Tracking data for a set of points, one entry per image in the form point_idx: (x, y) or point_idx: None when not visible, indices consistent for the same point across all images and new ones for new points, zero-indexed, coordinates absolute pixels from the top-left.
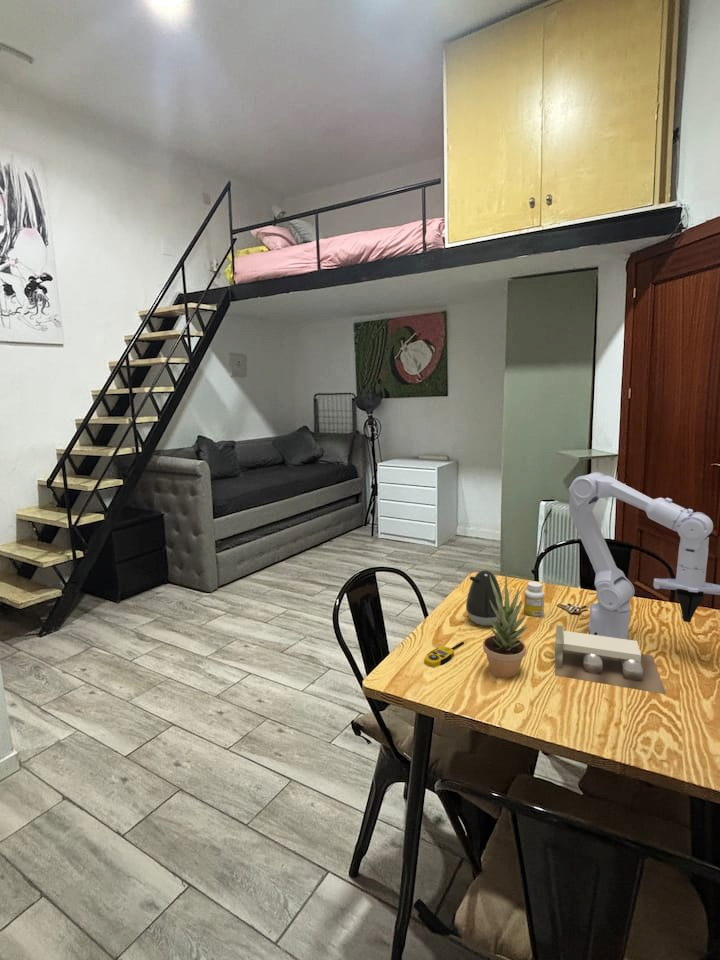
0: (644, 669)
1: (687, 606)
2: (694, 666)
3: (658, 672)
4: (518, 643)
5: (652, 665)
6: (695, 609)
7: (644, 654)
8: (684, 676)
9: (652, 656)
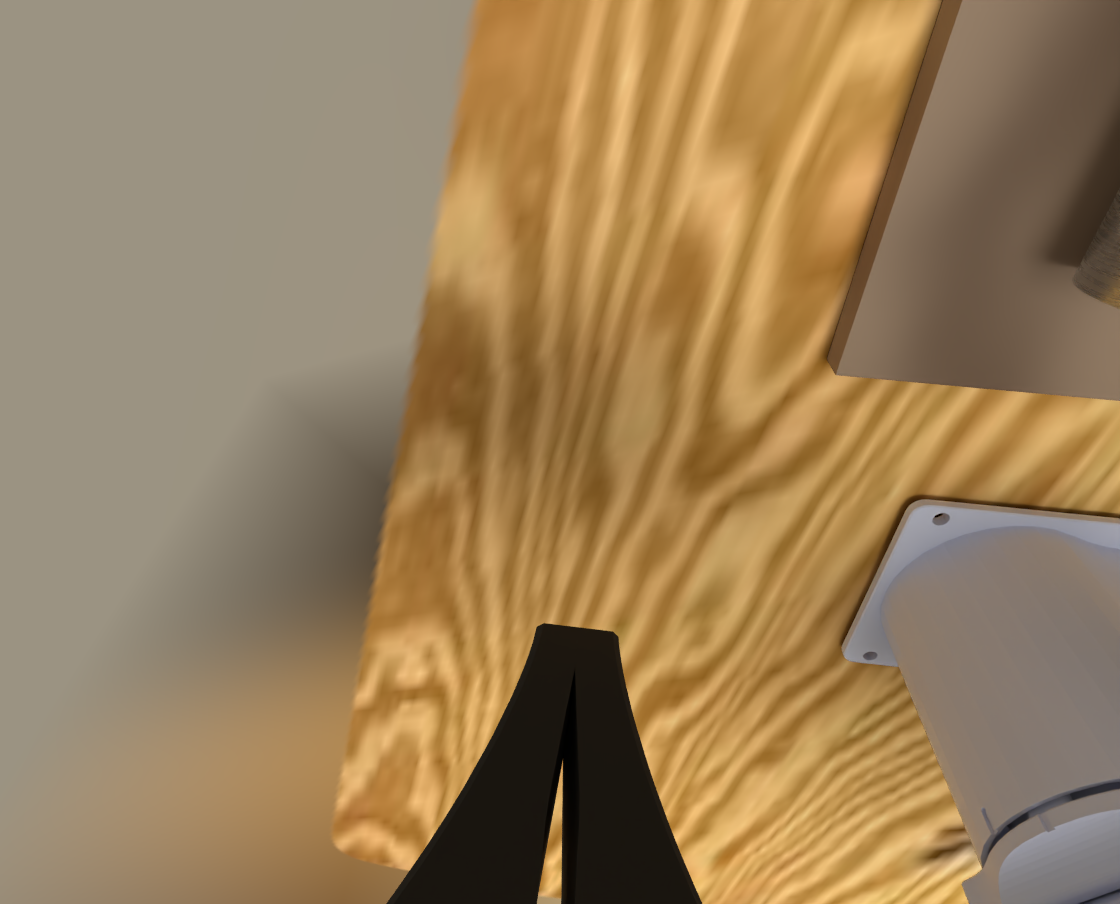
0: (1077, 63)
1: (597, 881)
2: (533, 323)
3: (950, 35)
4: None
5: (935, 183)
6: (457, 815)
7: (899, 378)
8: (667, 118)
9: (845, 358)
